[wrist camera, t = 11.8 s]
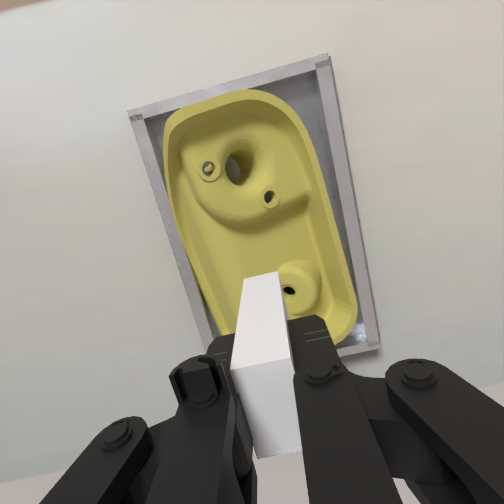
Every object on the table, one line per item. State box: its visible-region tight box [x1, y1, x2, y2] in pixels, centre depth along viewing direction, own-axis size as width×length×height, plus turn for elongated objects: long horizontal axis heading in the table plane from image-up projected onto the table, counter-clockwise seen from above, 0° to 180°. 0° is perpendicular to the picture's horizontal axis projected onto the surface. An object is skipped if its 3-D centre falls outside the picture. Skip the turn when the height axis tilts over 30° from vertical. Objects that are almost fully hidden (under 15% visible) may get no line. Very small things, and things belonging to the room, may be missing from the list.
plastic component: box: [163, 89, 358, 345], centre depth 26 cm, size 20×7×10 cm
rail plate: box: [127, 53, 380, 357], centre depth 28 cm, size 16×24×2 cm, turn 14°
